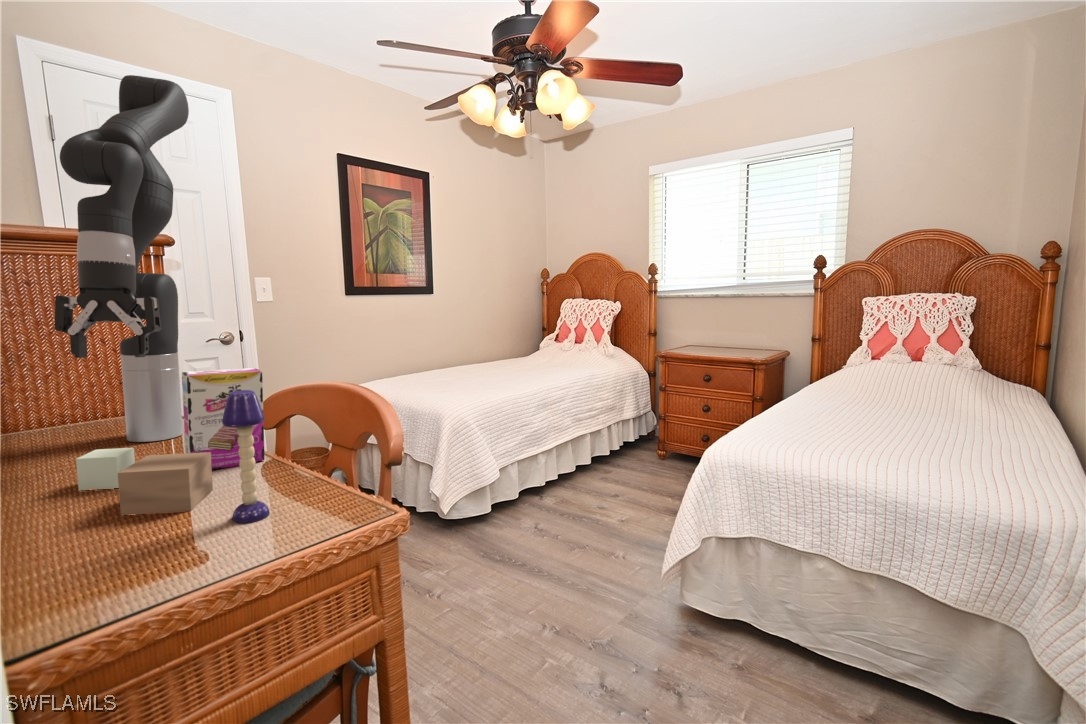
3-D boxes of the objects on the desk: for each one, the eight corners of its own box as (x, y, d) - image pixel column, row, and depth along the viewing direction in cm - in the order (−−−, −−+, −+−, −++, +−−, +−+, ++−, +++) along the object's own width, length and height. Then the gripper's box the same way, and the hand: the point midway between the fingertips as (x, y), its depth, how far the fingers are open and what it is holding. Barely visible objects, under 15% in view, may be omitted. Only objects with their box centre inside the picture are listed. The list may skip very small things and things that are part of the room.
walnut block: (150, 495, 74) (147, 455, 74) (212, 491, 76) (210, 452, 76) (121, 517, 67) (117, 472, 66) (191, 512, 69) (188, 468, 68)
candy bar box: (191, 475, 83) (185, 374, 81) (185, 468, 86) (179, 371, 84) (267, 461, 90) (263, 369, 89) (258, 455, 94) (254, 366, 92)
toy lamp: (262, 523, 65) (256, 394, 63) (221, 526, 64) (214, 394, 62) (273, 509, 70) (268, 388, 68) (235, 511, 69) (229, 388, 67)
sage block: (98, 480, 80) (96, 449, 79) (136, 478, 81) (133, 447, 81) (78, 492, 75) (76, 458, 74) (119, 489, 76) (116, 456, 76)
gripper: (165, 266, 92) (168, 356, 93) (70, 263, 89) (74, 357, 89) (145, 260, 85) (148, 358, 86) (40, 256, 81) (45, 358, 82)
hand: (110, 357), depth 88 cm, fingers open, 8 cm apart
